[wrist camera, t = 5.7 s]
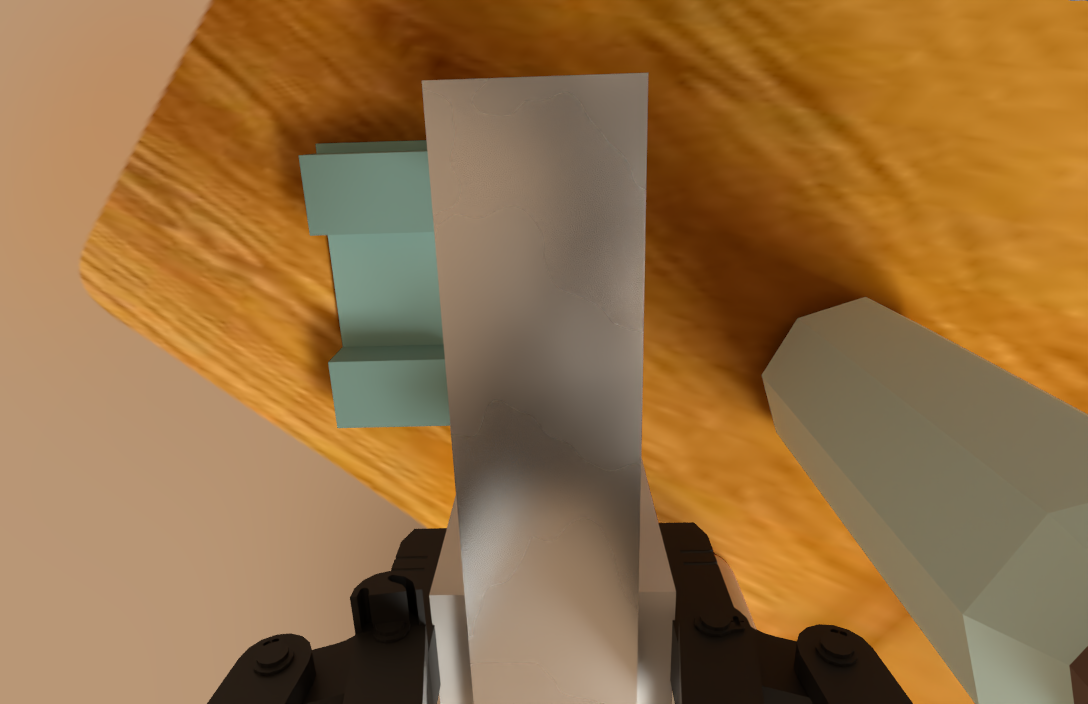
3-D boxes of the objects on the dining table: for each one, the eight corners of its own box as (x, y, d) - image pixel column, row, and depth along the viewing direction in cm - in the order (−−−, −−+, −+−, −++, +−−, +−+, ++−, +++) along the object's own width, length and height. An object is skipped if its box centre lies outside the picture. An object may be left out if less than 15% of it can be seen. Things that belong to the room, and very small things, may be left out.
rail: (458, 93, 12) (421, 80, 9) (622, 86, 12) (648, 72, 9) (510, 858, 19) (500, 1017, 15) (617, 858, 18) (630, 1018, 15)
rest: (317, 143, 36) (296, 145, 33) (446, 139, 36) (436, 140, 33) (353, 414, 41) (338, 435, 38) (466, 412, 41) (459, 433, 38)
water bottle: (720, 365, 40) (968, 717, 16) (863, 255, 37) (1395, 475, 14) (815, 477, 42) (1155, 928, 18) (955, 379, 40) (1547, 750, 16)
